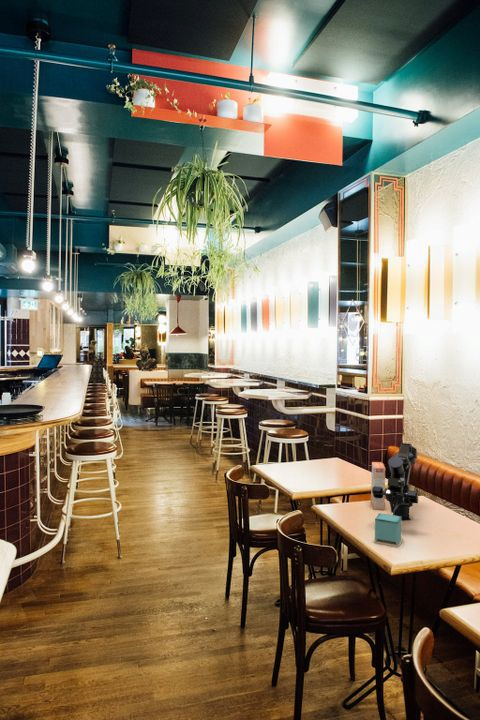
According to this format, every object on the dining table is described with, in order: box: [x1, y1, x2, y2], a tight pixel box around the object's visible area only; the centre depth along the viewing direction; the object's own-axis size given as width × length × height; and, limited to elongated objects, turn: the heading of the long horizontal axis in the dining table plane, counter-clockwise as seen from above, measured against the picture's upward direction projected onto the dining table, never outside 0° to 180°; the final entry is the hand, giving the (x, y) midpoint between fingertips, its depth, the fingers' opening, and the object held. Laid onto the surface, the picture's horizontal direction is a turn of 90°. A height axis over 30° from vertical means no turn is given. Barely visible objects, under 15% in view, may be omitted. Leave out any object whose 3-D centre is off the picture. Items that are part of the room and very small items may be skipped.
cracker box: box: [370, 461, 386, 511], centre depth 246 cm, size 14×6×21 cm, turn 168°
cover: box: [374, 512, 402, 544], centre depth 199 cm, size 8×9×9 cm
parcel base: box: [373, 536, 404, 548], centre depth 200 cm, size 10×10×1 cm
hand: (392, 512), depth 207 cm, fingers closed
